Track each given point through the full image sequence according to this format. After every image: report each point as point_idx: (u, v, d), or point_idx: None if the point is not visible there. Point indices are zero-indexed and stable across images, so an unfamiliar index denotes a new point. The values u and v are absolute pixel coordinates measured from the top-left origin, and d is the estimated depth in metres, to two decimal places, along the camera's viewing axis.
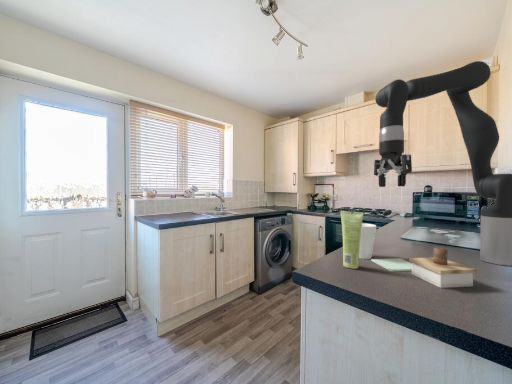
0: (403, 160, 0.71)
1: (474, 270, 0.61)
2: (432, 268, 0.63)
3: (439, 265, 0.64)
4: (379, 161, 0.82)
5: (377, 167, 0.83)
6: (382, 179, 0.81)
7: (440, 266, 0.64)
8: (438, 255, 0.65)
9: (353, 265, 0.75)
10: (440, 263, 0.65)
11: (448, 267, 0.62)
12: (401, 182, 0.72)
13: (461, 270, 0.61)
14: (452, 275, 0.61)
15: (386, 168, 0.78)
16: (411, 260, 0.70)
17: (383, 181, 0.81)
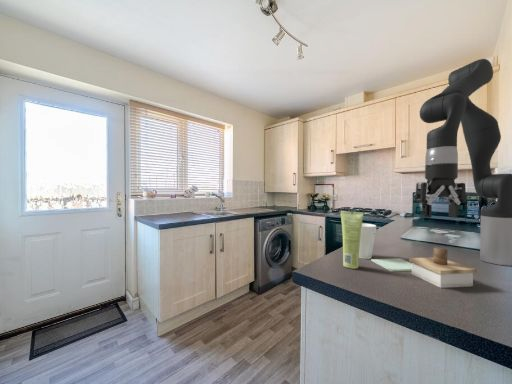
0: (463, 189, 0.65)
1: (474, 270, 0.61)
2: (432, 268, 0.63)
3: (439, 265, 0.64)
4: None
5: None
6: None
7: (440, 266, 0.64)
8: (438, 255, 0.65)
9: (353, 265, 0.75)
10: (440, 263, 0.65)
11: (448, 267, 0.62)
12: None
13: (461, 270, 0.61)
14: (452, 275, 0.61)
15: (440, 195, 0.65)
16: (411, 260, 0.70)
17: None
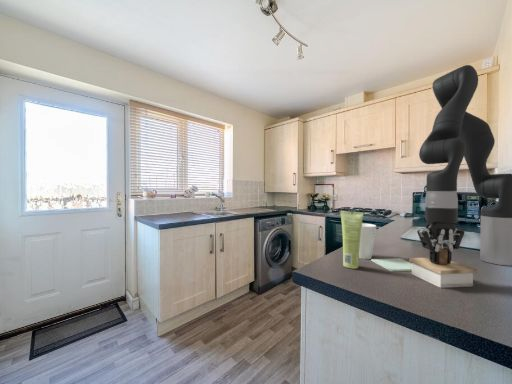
0: (461, 236, 0.65)
1: (474, 270, 0.61)
2: (432, 268, 0.63)
3: (439, 265, 0.64)
4: (427, 231, 0.65)
5: None
6: None
7: (440, 266, 0.64)
8: None
9: (353, 265, 0.75)
10: (440, 263, 0.65)
11: (448, 267, 0.62)
12: None
13: (461, 270, 0.61)
14: (452, 275, 0.61)
15: (444, 237, 0.65)
16: (411, 260, 0.70)
17: None
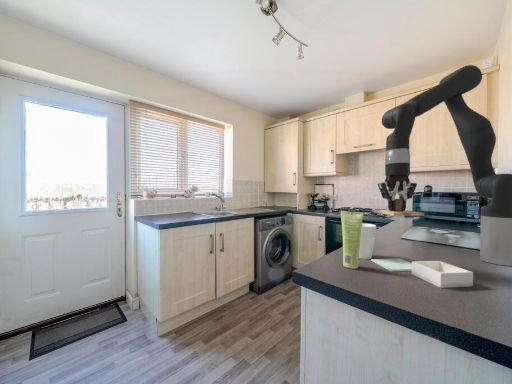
0: (414, 188, 0.78)
1: (422, 213, 0.73)
2: (388, 212, 0.75)
3: (394, 211, 0.77)
4: (385, 183, 0.77)
5: None
6: None
7: (395, 211, 0.76)
8: None
9: (353, 265, 0.75)
10: (396, 210, 0.77)
11: None
12: (405, 207, 0.78)
13: (411, 213, 0.73)
14: (452, 275, 0.61)
15: (399, 188, 0.77)
16: (374, 211, 0.82)
17: None
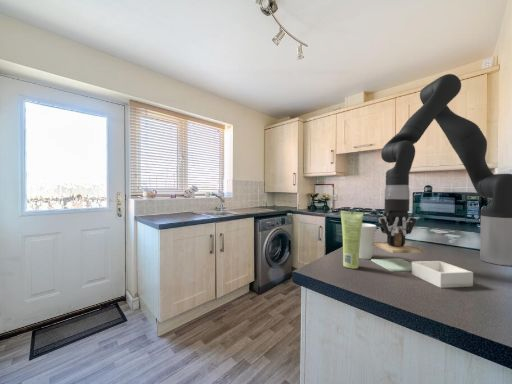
0: (413, 223, 0.78)
1: (421, 250, 0.74)
2: (387, 249, 0.75)
3: (394, 246, 0.77)
4: (384, 218, 0.78)
5: None
6: None
7: (394, 247, 0.76)
8: (394, 239, 0.78)
9: (353, 265, 0.75)
10: (395, 245, 0.77)
11: (400, 248, 0.75)
12: (404, 242, 0.78)
13: (410, 250, 0.73)
14: (452, 275, 0.61)
15: (398, 224, 0.78)
16: (373, 244, 0.83)
17: None
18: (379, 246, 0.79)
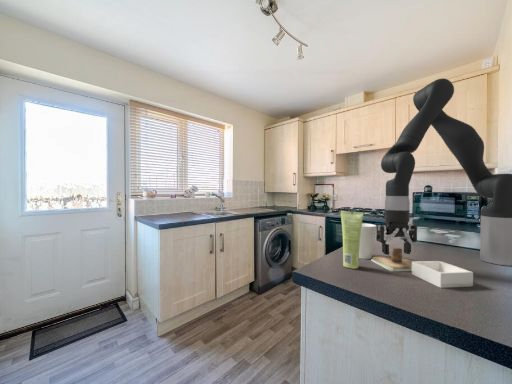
0: (415, 230, 0.78)
1: None
2: (388, 265, 0.75)
3: (394, 262, 0.77)
4: (384, 227, 0.78)
5: None
6: None
7: (395, 263, 0.76)
8: (394, 254, 0.78)
9: (353, 265, 0.75)
10: (395, 261, 0.77)
11: (401, 264, 0.75)
12: (410, 250, 0.78)
13: (410, 266, 0.73)
14: (452, 275, 0.61)
15: (396, 235, 0.77)
16: (374, 258, 0.83)
17: None
18: (379, 261, 0.79)
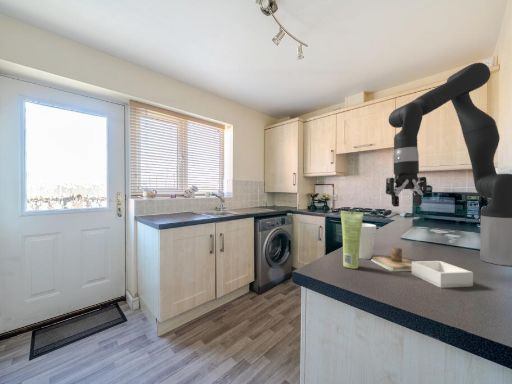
0: (425, 182, 0.78)
1: None
2: (388, 265, 0.75)
3: (394, 262, 0.77)
4: (394, 179, 0.78)
5: None
6: None
7: (395, 263, 0.76)
8: (394, 254, 0.78)
9: (353, 265, 0.75)
10: (395, 261, 0.77)
11: (401, 264, 0.75)
12: None
13: (410, 266, 0.73)
14: (452, 275, 0.61)
15: (406, 188, 0.78)
16: (374, 258, 0.83)
17: None
18: (379, 261, 0.79)
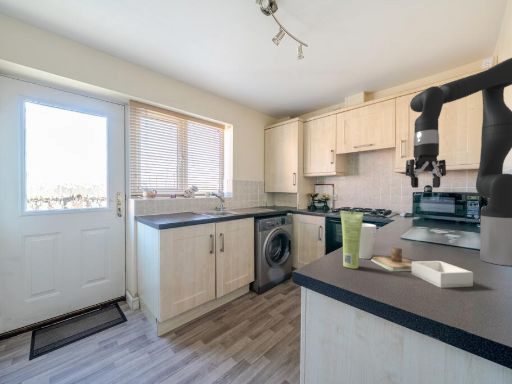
0: (444, 164, 0.81)
1: None
2: (388, 265, 0.75)
3: (394, 262, 0.77)
4: (414, 161, 0.81)
5: None
6: None
7: (395, 263, 0.76)
8: (394, 254, 0.78)
9: (353, 265, 0.75)
10: (395, 261, 0.77)
11: (401, 264, 0.75)
12: None
13: (410, 266, 0.73)
14: (452, 275, 0.61)
15: (425, 169, 0.80)
16: (374, 258, 0.83)
17: None
18: (379, 261, 0.79)
